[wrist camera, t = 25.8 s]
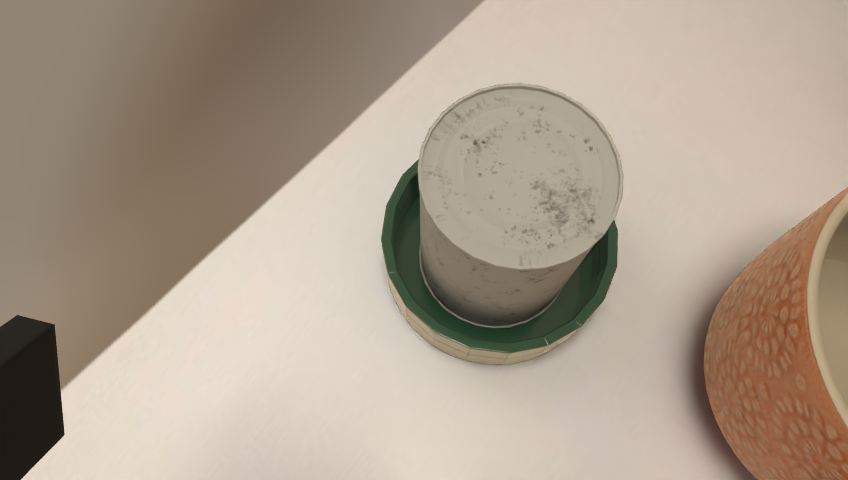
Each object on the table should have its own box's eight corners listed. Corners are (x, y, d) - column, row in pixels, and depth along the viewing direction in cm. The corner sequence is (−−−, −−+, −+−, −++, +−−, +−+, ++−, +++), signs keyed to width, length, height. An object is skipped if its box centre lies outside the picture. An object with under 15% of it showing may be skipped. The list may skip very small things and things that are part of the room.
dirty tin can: (433, 341, 40) (438, 286, 28) (407, 200, 43) (401, 99, 32) (585, 314, 41) (649, 249, 29) (548, 176, 44) (592, 69, 32)
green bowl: (372, 351, 41) (366, 336, 36) (401, 153, 45) (398, 120, 41) (595, 377, 40) (615, 366, 36) (601, 174, 45) (619, 143, 40)
